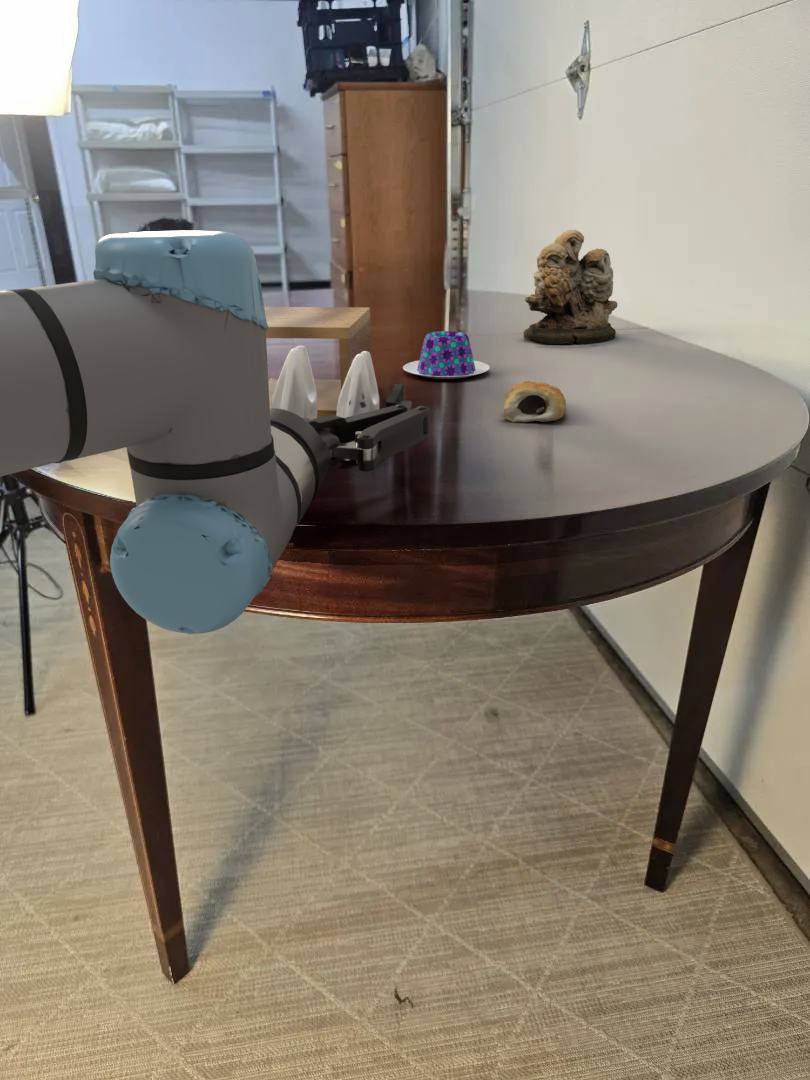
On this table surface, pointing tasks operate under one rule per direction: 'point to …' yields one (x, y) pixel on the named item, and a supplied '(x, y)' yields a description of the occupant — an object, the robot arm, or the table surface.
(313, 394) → the shaker set
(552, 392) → the pastry
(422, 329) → the table surface
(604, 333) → the owl figurine
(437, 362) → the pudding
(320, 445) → the robot arm
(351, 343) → the shelf
